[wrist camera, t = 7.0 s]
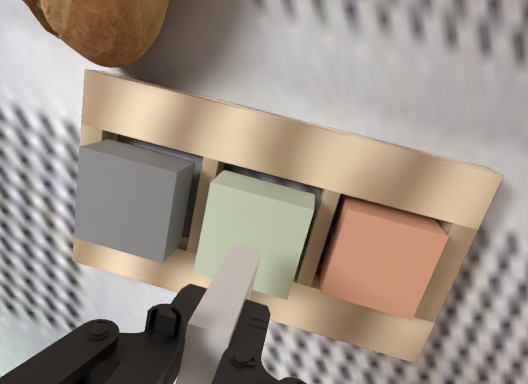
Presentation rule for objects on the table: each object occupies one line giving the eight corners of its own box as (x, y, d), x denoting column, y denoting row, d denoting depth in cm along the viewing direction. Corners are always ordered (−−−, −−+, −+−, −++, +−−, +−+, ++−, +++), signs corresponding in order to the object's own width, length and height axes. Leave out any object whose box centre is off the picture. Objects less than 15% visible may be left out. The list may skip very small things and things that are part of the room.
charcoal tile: (101, 220, 25) (73, 237, 23) (108, 139, 23) (79, 146, 21) (180, 243, 25) (162, 263, 22) (194, 162, 23) (177, 172, 20)
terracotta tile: (319, 270, 26) (319, 293, 23) (344, 194, 24) (347, 209, 21) (401, 293, 25) (412, 320, 22) (433, 218, 23) (448, 236, 21)
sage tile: (208, 250, 25) (193, 272, 22) (224, 169, 23) (210, 182, 20) (291, 274, 24) (287, 300, 21) (315, 194, 22) (314, 210, 20)
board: (89, 249, 29) (72, 260, 27) (103, 70, 24) (84, 69, 22) (409, 343, 27) (415, 363, 25) (487, 167, 22) (503, 175, 20)
